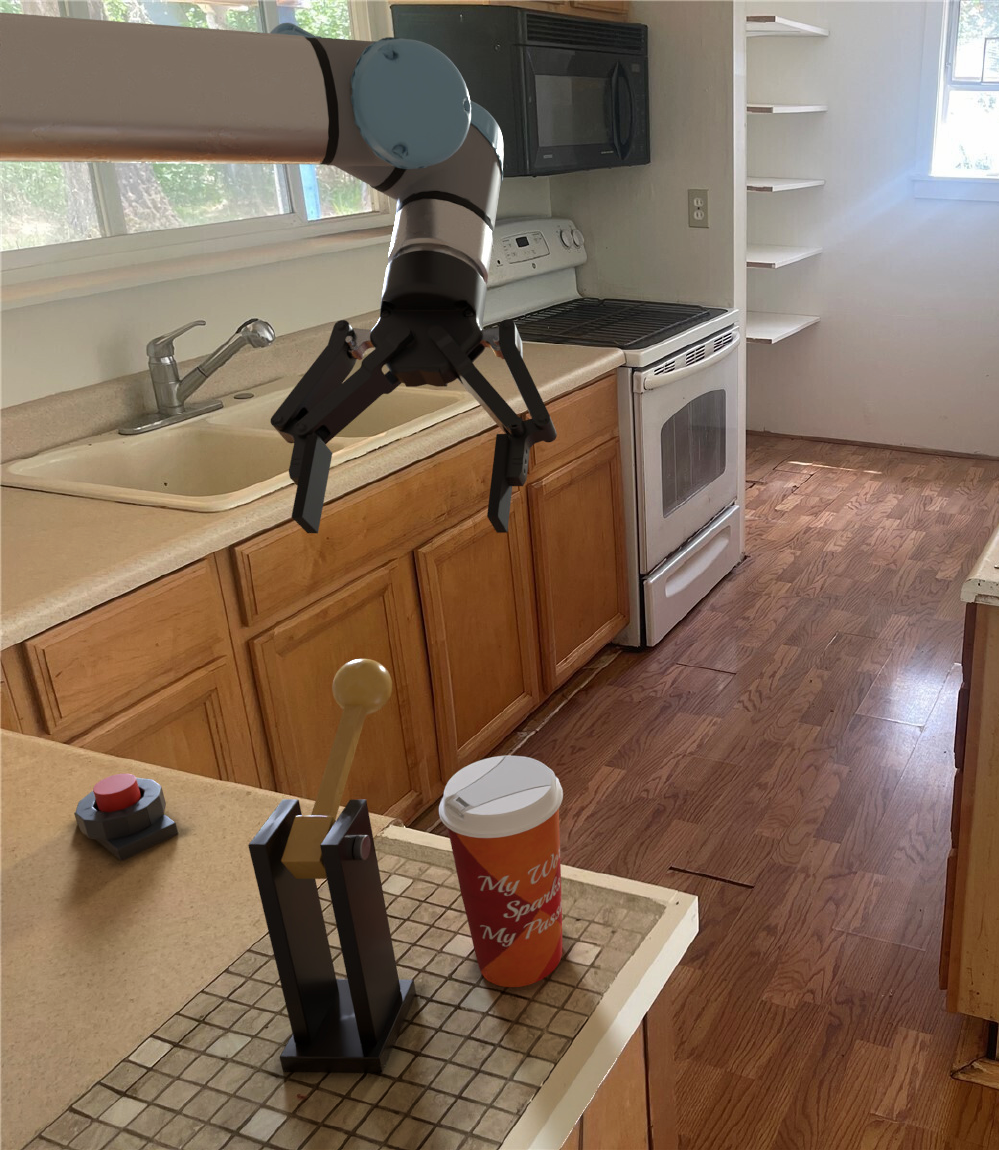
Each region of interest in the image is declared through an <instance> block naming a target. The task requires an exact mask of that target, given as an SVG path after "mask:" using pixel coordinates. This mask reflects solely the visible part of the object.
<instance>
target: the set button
mask: <svg viewBox="0 0 999 1150" xmlns="http://www.w3.org/2000/svg"><path fill="white" fill-rule="evenodd" d="M136 778H137V777H136V775H134V774H132V773H116V774H113V775H112V774H111V775H109V776H106V777H104V778H102V779H101V780H99V781H98V782H96V783H95V784H94V785H93V788H92V791H93V792H94V796H95V799H96V802H97V806H98V809H99V810H100V811H101V812H113V811H117V810H122V809H125V808H128V807H130V806H132V805H134V804H136V803H137V802H138V801H139V800H140V799H141V794H140V790H139V787H138V783H137V780H136Z"/></svg>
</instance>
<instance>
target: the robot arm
mask: <svg viewBox="0 0 999 1150" xmlns="http://www.w3.org/2000/svg"><path fill="white" fill-rule="evenodd" d="M0 162H3V163H4V162H6V163H8V162H11V163H14V162H15V163H16V162H17V163H105V164H106V163H109V164H110V163H112V164H114V163H116V164H119V163H122V164H137V163H138V164H212V165H213V164H214V165H215V164H216V165H217V164H218V165H219V164H221V165H222V164H223V165H224V164H226V165H229V164H230V165H233V164H234V165H314V166H315V165H318V166H319V165H320V166H333V167H335V168H337V169H339V170H340V171H342V172H345V173H347V175H348V174H349V175H350V176H351V177H354V178H356V179H357V180H359V181H361V182H362V183H365V184H367V185H368V186H370V187H371V188H372V189H373V190H376V191H378V192H380V193H382V194H384V195H386V196H387V197H390V198H391V199H393V200H395V201H396V211H395V216H394V226H393V231H392V236H391V242H390V247H389V251H388V256H387V264H388V265H387V267H386V269H385V275H384V281H383V288H382V294H381V299H380V307H379V308H380V309H379V310H380V311H379V319H378V321H377V323H376V324H375V325H374V326H373V328H372V329H366V328H365V329H364V328H357V327H356V328H355V327H352V325H351V324H350V322H349V321H348V320H345V319H340V320H337V321H336V322H335V323H334V324H333V326H332V330H331V334H330V336H329V339H328V343H327V345H326V346H325V348H324V349H323V350H322V351H321V352H320V354H319V355H318V356H317V358H316V359H315V361H313V363H312V364H311V365H310V367H309V368H308V370H307V371H305V373H304V375H303V376H302V377H301V378H300V380H299V381H298V382H297V384H296V385H295V386H294V387H293V389H292V390H291V391H290V393H289V394H288V395H287V396H286V398H285V399H284V400H283V402H282V403H281V404H280V406H279V407H278V408H277V410H276V411H275V412H274V413H273V415H272V416H271V418H270V425H271V426H272V428H274V430H276V432H277V433H279V435H280V437H282V439H283V440H284V441H285V442H286V443H288V444H293V447H292V452H291V457H290V461H289V462H290V463H289V467H288V475H289V478H290V480H291V481H292V482H293V483H294V484H295V485H296V491H295V496H294V502H293V507H292V512H291V519H292V520H293V521H294V522H296V524H297V525H298V526H299V527H301V529H302V530H304V531H305V532H306V534H319V530H320V524H321V519H322V514H323V508H324V502H325V497H326V492H327V486H328V481H329V480H328V479H329V475H330V469H331V464H332V458H333V452H332V451H331V449H330V448H329V447H328V445H327V444H328V443H330V441H331V440H333V439H334V438H335V437H336V436H337V435H338V434H340V432H342V431H343V430H344V429H345V428H346V427H347V426H348V425H350V424H351V423H352V422H353V421H354V420H355V419H357V418H358V417H359V416H360V415H361V414H362V413H363V412H364V411H365V410H367V409H368V408H369V407H370V406H372V404H373V403H374V402H376V401H377V400H379V398H380V397H382V396H383V395H389V394H391V393H392V392H393V391H395V390H396V389H397V388H398V387H399V386H400V385H401V384H404V386H405V387H406V388H417V387H421V386H426V385H429V386H433V387H442V388H443V387H444V388H445V387H446V388H447V387H448V384H450V383H452V382H454V381H456V380H457V381H458V382H459V383H460V384H461V386H462V387H463V388H464V389H465V390H466V391H467V392H468V393H469V394H470V395H471V396H472V397H473V398H474V399H475V400H476V402H477V403H478V404H479V405H480V406H481V408H482V409H483V410H484V411H485V413H487V415H488V416H489V417H490V418H491V419H492V421H494V423H495V424H496V425H497V426H498V428H500V429H501V431H502V432H503V433H496V435H495V444H494V453H493V462H492V469H491V470H492V471H491V479H490V487H489V494H488V496H489V497H488V506H487V513H486V517H487V519H488V521H489V522H490V524H491V526H492V527H493V529H494V530H495V532H496V534H505V533H506V534H507V533H508V531H509V523H510V513H511V512H510V511H511V503H512V502H511V501H512V493H513V487H524V486H525V484H526V482H527V478H528V468H529V458H530V451H531V448H532V447H533V446H534V445H535V444H537V443H542V442H544V443H552V442H554V441H555V440H556V439H557V435H558V433H557V430H556V427H555V425H554V423H553V419H552V418H551V415H550V413H549V411H548V409H547V407H546V404H545V402H544V400H543V398H542V396H541V394H540V392H539V390H538V388H537V386H536V383H535V382H534V380H533V378H532V375H531V373H530V371H529V368H528V367H527V364H526V363H525V361H524V353H523V350H524V349H523V341H522V339H521V336H520V333H519V331H518V329H517V326H516V324H515V321H513V320H512V319H511V318H505V319H503V320H502V321H500V322H499V324H498V327H494V328H493V327H492V328H484V329H483V324H484V317H485V310H486V309H485V308H486V300H487V292H488V289H487V284H488V280H489V275H490V266H491V258H492V252H493V243H494V232H495V226H496V220H497V219H496V218H497V212H498V204H499V196H500V189H501V187H502V183H503V181H504V170H503V168H504V139H503V134H502V130H501V128H500V126H499V124H498V122H497V120H496V119H495V118H494V116H493V115H492V114H491V113H490V112H489V111H488V110H486V108H485V107H482V105H480V104H478V103H477V102H474V101H473V100H471V98H470V94H469V89H468V86H467V84H466V81H465V79H464V77H463V76H462V73H461V72H460V71H459V69H458V68H457V66H456V65H455V64H454V62H453V61H452V60H451V59H450V58H449V57H448V56H447V55H446V54H445V53H443V52H442V51H441V50H440V49H438V48H436V47H435V46H433V45H431V44H429V43H427V42H424V41H420V40H417V39H409V38H402V37H393V36H387V37H382V38H381V39H379V40H377V41H376V40H375V41H374V40H359V39H358V40H357V39H346V38H336V37H335V38H332V37H322V36H318V35H314V34H312V33H311V32H309V31H307V30H305V29H304V28H301V27H300V26H298V25H296V24H295V23H291V22H283V23H282V22H281V23H279V24H278V25H276V26H275V27H274V28H273V29H272V30H271V31H270V32H260V31H247V30H233V29H223V28H222V29H220V28H210V27H209V28H208V27H207V28H206V27H194V26H183V25H182V26H181V25H169V24H157V23H143V22H142V23H141V22H128V21H117V20H105V19H104V20H103V19H91V18H77V17H64V16H53V15H52V16H51V15H40V14H39V15H38V14H37V15H36V14H25V13H13V12H12V13H11V12H2V11H0ZM486 348H489V349H491V350H492V352H493V354H494V355H495V357H497V358H500V359H501V360H504V361H505V363H506V366H507V368H508V371H509V374H510V375H511V377H512V380H513V382H514V384H515V386H516V388H517V391H518V393H519V394H520V397H521V398H522V401H523V403H524V405H525V407H526V409H527V412H528V413H529V416H530V417H531V418H529V419H526V420H523V418H522V416H519V415H518V414H517V413H516V412H515V410H514V409H513V408H512V407H511V406H510V405H509V404H508V403H507V401H506V400H505V399H504V398H503V397H502V395H500V394H499V392H498V391H497V390H496V388H494V386H493V385H492V384H491V383H490V382H489V381H488V379H487V378H486V377H485V376H484V375H483V374H482V373H481V371H480V370H479V369H478V368H477V367H476V366H475V364H474V362H475V361H476V360H477V359H478V358H479V357H480V356H481V355H482V354H483V352H484V351H485V349H486ZM369 349H373V350H372V351H371V352H370V353H368V354H367V356H365V355H364V354H365V353H366V351H367V350H369ZM357 360H358V361H361V360H362V361H361V363H360V367H359V368H358V369H357V370H356V371H355V372H354V373H352V374H351V372H352V371H353V368H354V367H355V365H356V363H357ZM384 366H386V367H387V369H388V371H387V372H385V373H384V371H383V367H384ZM350 374H351V375H350ZM349 375H350V376H349ZM348 376H349V377H348Z"/></svg>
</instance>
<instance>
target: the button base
mask: <svg viewBox="0 0 999 1150" xmlns="http://www.w3.org/2000/svg"><path fill="white" fill-rule="evenodd" d="M136 780H137V783H138V787H139V790H140V794H141V799H140V800H139V801H138V802H137V803H136V804H134V805H132V806H130V807H128V808H125V809H122V810H117V811H113V812H101V811H100V810H99V809H98V806H97V802H96V799H95V796H94V792H93V790H91V791H90V792H89V793H88V794H87V795H85V796H84V797H83V798H81V799H80V800H79V801H78V803H77V806H76V809H75V811H74V813H73V815H74V818H75V821H76V824H77V826H78V827H79V830H80V832H81V833H82V834H83V835H84V836H86V838H88V839H89V840H95V841H96V842H98V843H99V844H100V845H101V846H102V847H104V848H105V849H106V850H107V851H108V852H109V853H110V854H112V855H113V856H114V857H115V858H116V859H118V860H119V861H120V862H123V861H125V860H127V859H129V858H132V857H133V856H136V855H138V854H140V853H142V852H144V851H146V850H148V849H150V848H152V847H155V846H157V845H159V844H161V843H163V842H165V841H167V840H169V839H171V838H173V837H175V836H177V835H179V831H178V826H177V823H176V822H175V821H174V820H172V819H171V818H170V817H169V816H167V815H166V814H165V812H166V806H167V802H166V799H165V795H164V790H163V787H162V785H161V784H160V783H158V782H156V781H155V780H154V779H152V778H143V777H141V778H140V777H136Z"/></svg>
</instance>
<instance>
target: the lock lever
mask: <svg viewBox="0 0 999 1150" xmlns="http://www.w3.org/2000/svg"><path fill="white" fill-rule="evenodd" d="M331 689H332V690H331V692H332V696H333V699H334V701H335V703H336V704H337V705H338V707H340V708H341V709H342V712H341V713H342V714H341V717H340V720H339V723H338V725H337V726H338V727H337V730H336V733H335V736H334V739H333V743H332V746H331V749H330V752H329V756H328V758H327V763H326V766H325V768H324V773H323V776H322V779H321V782H320V785H319V788H318V792H317V795H316V798H315V801H314V805H313V808H312V810H311V814H310V815H302V816H295V819H294V822H293V825H292V828H291V831H290V835H289V838H288V841H287V844H286V847H285V850H284V853H283V857H282V860H281V862H282V863H283V864H284V865H285V866H286V868H287V869H288V870H289V871H290V872H291V873H292V875H293V876H294V877H295V878H296V879H315V880H327V877H326V872H325V867H324V862H323V857H322V852H321V847H320V845H321V843H322V842H323V840H324V839H325V837H326V836H327V834H328V832H329V831H330V829H331V828H332V826H333V825H334V823H335V822H336V820H337V815H338V813H339V810H340V809H339V808H340V806H341V802H342V799H343V795H344V792H345V788H346V785H347V782H348V779H349V774H350V771H351V768H352V766H353V765H352V764H353V762H354V758H355V754H356V750H357V747H358V743H359V740H360V737H361V733H362V730H363V726H364V724H365V720H366V716H367V715H368V716H369V715H372V714H374V713H376V712H378V711H380V710H381V709H383V707H385V705H387V703H388V701H389V700H390V698H391V695H392V692H393V680H392V676H391V674H390V672H389V670H388V669H387V668H386V666H384V665H383V664H381V663H380V662H379V661H377V660H373V659H371V658H356V659H352V660H350V661H347V662H346V663H345V664H343V665H342V666H341V667H340V668H339V669H338V670H337V672H336V673H335V675H334V677H333V680H332V685H331Z"/></svg>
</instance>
